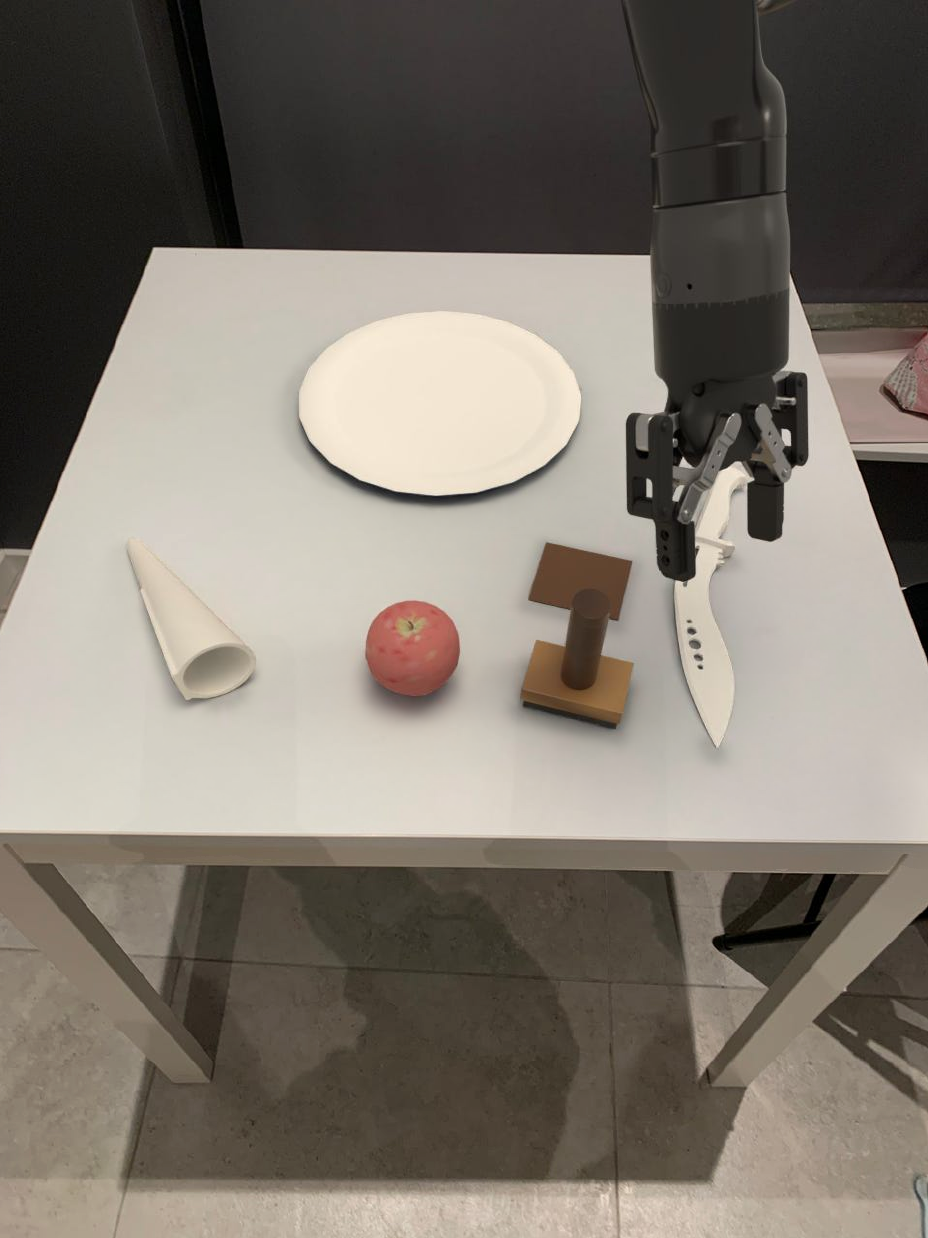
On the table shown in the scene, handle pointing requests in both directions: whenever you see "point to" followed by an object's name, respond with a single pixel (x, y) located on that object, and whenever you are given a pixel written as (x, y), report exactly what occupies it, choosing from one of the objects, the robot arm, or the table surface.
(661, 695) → the table surface
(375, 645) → the apple
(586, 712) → the wooden handled stamp
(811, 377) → the table surface
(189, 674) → the long cone
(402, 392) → the plate
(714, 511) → the knife
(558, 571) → the brown flat block
